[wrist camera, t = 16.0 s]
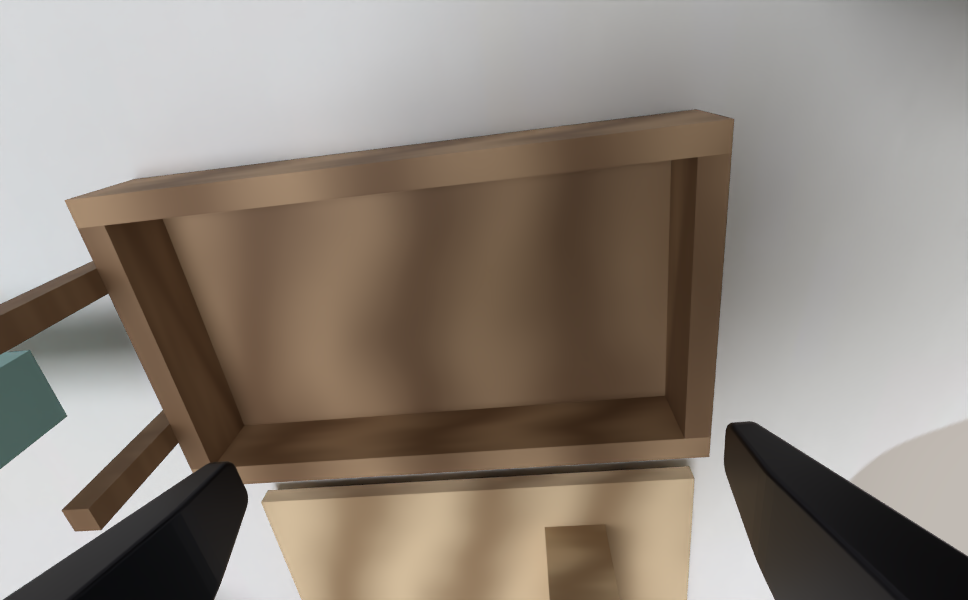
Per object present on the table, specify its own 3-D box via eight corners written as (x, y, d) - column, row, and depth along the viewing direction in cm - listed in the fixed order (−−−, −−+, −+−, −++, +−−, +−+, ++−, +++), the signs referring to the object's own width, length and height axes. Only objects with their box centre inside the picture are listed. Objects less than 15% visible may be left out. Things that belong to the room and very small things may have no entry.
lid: (682, 452, 26) (726, 552, 20) (674, 612, 31) (708, 725, 25) (276, 476, 28) (220, 573, 22) (332, 622, 33) (298, 729, 28)
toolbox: (695, 109, 18) (815, 139, 11) (682, 404, 24) (757, 553, 16) (110, 182, 21) (-107, 246, 13) (219, 436, 26) (105, 579, 19)
